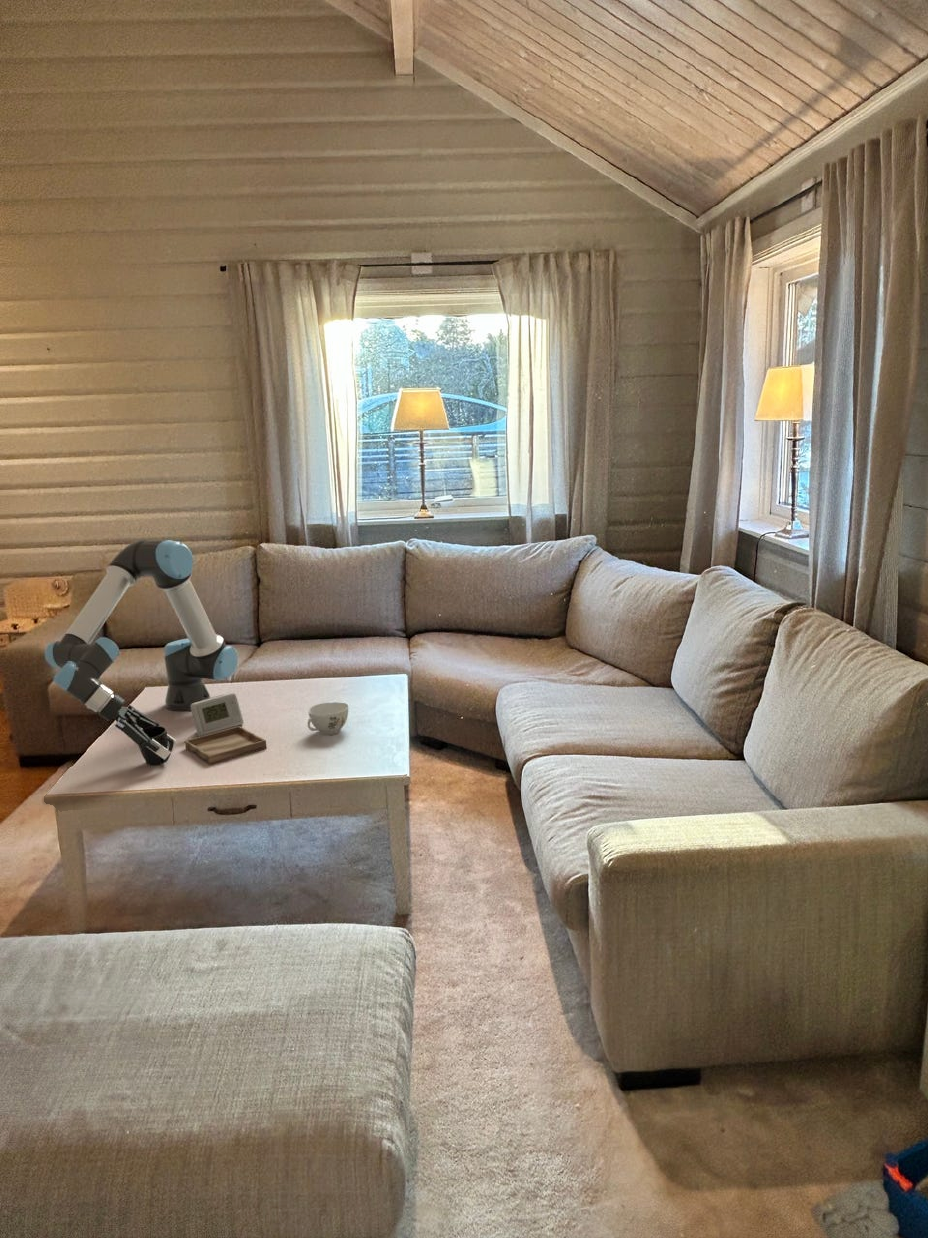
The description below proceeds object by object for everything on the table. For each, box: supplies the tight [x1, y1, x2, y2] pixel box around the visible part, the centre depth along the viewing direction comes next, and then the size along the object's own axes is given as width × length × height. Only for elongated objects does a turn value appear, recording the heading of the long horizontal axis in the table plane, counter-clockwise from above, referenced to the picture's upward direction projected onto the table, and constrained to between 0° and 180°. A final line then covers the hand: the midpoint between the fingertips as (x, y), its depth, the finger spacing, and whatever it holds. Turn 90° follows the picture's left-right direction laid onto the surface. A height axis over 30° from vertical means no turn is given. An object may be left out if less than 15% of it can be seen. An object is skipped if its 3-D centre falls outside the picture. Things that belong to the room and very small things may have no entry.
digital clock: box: [190, 692, 244, 737], centre depth 285 cm, size 16×9×11 cm, turn 122°
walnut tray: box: [184, 725, 267, 766], centre depth 269 cm, size 18×18×2 cm
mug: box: [138, 725, 175, 767], centre depth 259 cm, size 8×12×10 cm
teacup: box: [307, 701, 349, 736], centre depth 278 cm, size 15×12×8 cm
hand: (170, 749), depth 260 cm, fingers closed on mug, 9 cm apart
